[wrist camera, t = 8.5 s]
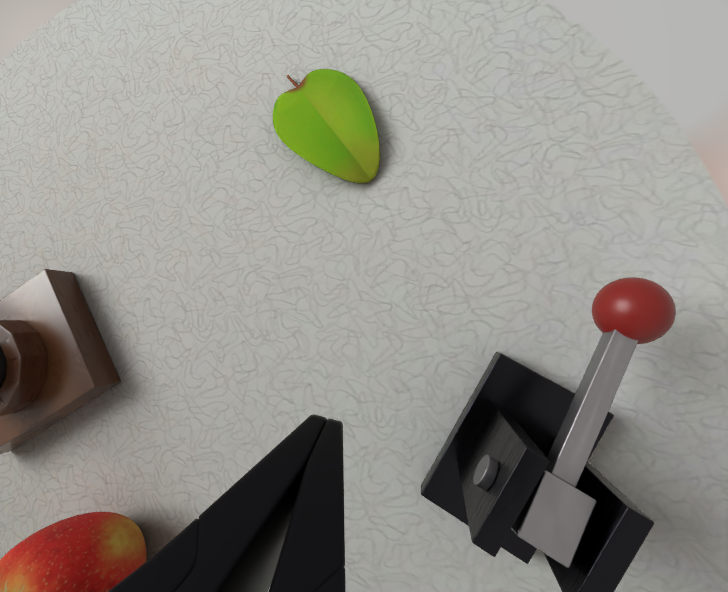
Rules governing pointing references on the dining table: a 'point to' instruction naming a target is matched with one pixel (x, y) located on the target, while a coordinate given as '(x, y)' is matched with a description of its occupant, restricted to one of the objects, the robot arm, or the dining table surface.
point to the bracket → (528, 477)
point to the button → (2, 367)
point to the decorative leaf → (330, 125)
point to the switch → (591, 415)
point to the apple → (75, 555)
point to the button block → (48, 356)
